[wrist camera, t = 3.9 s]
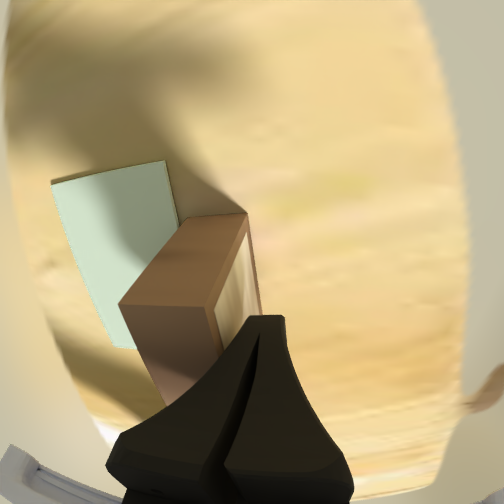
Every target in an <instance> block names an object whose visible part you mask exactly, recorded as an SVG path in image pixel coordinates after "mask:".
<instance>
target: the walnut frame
mask: <svg viewBox="0 0 504 504" xmlns="http://www.w3.org/2000/svg"><path fill="white" fill-rule="evenodd" d="M118 307H119V309H120V311H121V314H122V316H123V318H124V321H125V323H126V325H127V328H128V330H129V332H130V334H131V336H132V339H133V341H134V343H135V345H136V347H137V349H138V351H139V353H140V356H141V358H142V360H143V362H144V364H145V366H146V368H147V370H148V372H149V374H150V376H151V378H152V380H153V381H154V383H155V385H156V387H157V389H158V391H159V393H160V395H161V397H162V398H163V400H164V402H165V404H166V406H169V405H170V404H171V403H173V402H174V401H175V400H176V399H178V398H179V397H180V396H181V395H182V394H184V393H185V392H186V391H187V390H188V389H190V388H191V387H192V386H193V385H194V384H195V383H196V382H197V381H198V380H199V379H200V378H201V377H202V376H203V375H204V374H205V373H206V372H207V371H208V370H209V369H210V367H211V366H212V365H213V364H214V363H215V362H216V360H217V359H218V358H219V357H220V356H221V355H222V353H223V352H224V351H225V349H226V348H227V347H228V345H229V344H230V343H231V341H232V340H233V339H234V337H235V336H236V334H237V333H238V331H239V330H240V328H241V327H242V325H243V324H244V322H245V320H246V319H247V317H248V316H250V315H263V314H262V308H261V301H260V294H259V287H258V281H257V274H256V267H255V260H254V254H253V247H252V240H251V234H250V227H249V220H248V213H241V214H226V215H213V216H200V217H188V218H187V219H186V220H185V221H184V222H183V223H182V225H181V226H180V227H179V228H178V229H177V231H176V232H175V233H174V234H173V235H172V236H171V238H170V239H169V240H168V241H167V242H166V244H165V245H164V246H163V247H162V249H161V250H160V251H159V252H158V253H157V255H156V256H155V257H154V258H153V260H152V261H151V262H150V263H149V264H148V266H147V267H146V268H145V269H144V271H143V272H142V273H141V274H140V276H139V277H138V278H137V279H136V281H135V282H134V283H133V285H132V286H131V287H130V288H129V290H128V291H127V292H126V293H125V295H124V296H123V297H122V299H121V300H120V301H119V303H118Z"/></svg>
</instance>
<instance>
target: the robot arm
mask: <svg viewBox="0 0 504 504" xmlns="http://www.w3.org/2000/svg"><path fill="white" fill-rule="evenodd" d="M105 466H106V468H107V470H108V472H109V473H110V474H111V475H112V476H113V477H114V478H115V479H117V480H118V481H119V482H120V483H121V484H122V485H124V486H125V487H126V488H127V490H126V493H125V496H124V498H120V497H117V496H113V495H111V494H108V493H105V492H102V491H100V490H97V489H95V488H92V487H89V486H87V485H85V484H82V483H80V482H77V481H75V480H72V479H70V478H68V477H66V476H64V475H61V474H59V473H57V472H55V471H53V470H51V469H49V468H47V467H45V466H43V465H41V464H39V462H38V461H37V460H36V459H35V458H34V457H32V456H31V455H29V454H28V453H27V452H25V451H23V450H21V449H20V448H18V447H16V446H14V445H12V444H10V446H9V447H8V449H7V451H6V452H5V454H4V456H3V458H2V459H1V461H0V494H1V495H2V496H3V497H5V498H6V499H7V500H9V501H10V502H12V503H13V504H349V501H350V499H351V497H352V495H353V492H354V482H353V478H352V475H351V472H350V469H349V467H348V464H347V462H346V460H345V457H344V455H343V453H342V451H341V450H340V449H339V447H338V446H337V445H336V444H335V442H334V441H333V439H332V438H331V437H330V435H329V434H328V432H327V431H326V429H325V428H324V426H323V425H322V423H321V422H320V420H319V418H318V417H317V415H316V413H315V412H314V410H313V408H312V407H311V405H310V403H309V401H308V399H307V397H306V395H305V393H304V391H303V389H302V387H301V384H300V382H299V380H298V377H297V375H296V372H295V369H294V367H293V364H292V361H291V358H290V354H289V351H288V347H287V338H286V327H285V317H284V316H282V315H250V316H248V317H247V319H246V320H245V322H244V324H243V325H242V327H241V328H240V330H239V331H238V333H237V334H236V336H235V337H234V339H233V340H232V341H231V343H230V344H229V345H228V347H227V348H226V349H225V351H224V352H223V353H222V355H221V356H220V357H219V358H218V359H217V360H216V362H215V363H214V364H213V365H212V366H211V367H210V369H209V370H208V371H207V372H206V373H205V374H204V375H203V376H202V377H201V378H200V379H199V380H198V381H197V382H196V383H195V384H194V385H193V386H192V387H191V388H190V389H188V390H187V391H186V392H185V393H184V394H182V395H181V396H180V397H179V398H178V399H176V400H175V401H174V402H173V403H171V404H170V405H169V406H167V407H166V408H164V409H163V410H161V411H160V412H158V413H157V414H155V415H154V416H152V417H151V418H149V419H147V420H145V421H144V422H142V423H140V424H138V425H136V426H134V427H132V428H130V429H128V430H126V431H124V432H122V433H121V434H120V435H119V437H118V439H117V440H116V442H115V444H114V446H113V449H112V451H111V453H110V456H109V458H108V460H107V462H106V465H105ZM472 504H504V487H502V488H500V489H498V490H496V491H494V492H492V493H490V494H489V495H487V496H486V497H485V498H484V499H483V500H481V501H478V502H475V503H472Z"/></svg>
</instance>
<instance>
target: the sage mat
mask: <svg viewBox="0 0 504 504" xmlns="http://www.w3.org/2000/svg"><path fill="white" fill-rule="evenodd" d="M51 190H52V193H53V197H54V200H55V203H56V206H57V210H58V213H59V216H60V219H61V222H62V225H63V228H64V231H65V234H66V236H67V239H68V242H69V245H70V248H71V250H72V253H73V256H74V258H75V261H76V263H77V266H78V268H79V271H80V273H81V276H82V278H83V281H84V283H85V286H86V288H87V290H88V293H89V295H90V297H91V299H92V302H93V304H94V306H95V308H96V311H97V313H98V315H99V317H100V319H101V321H102V323H103V326H104V328H105V330H106V332H107V334H108V336H109V338H110V340H111V342H112V344H113V346H114V347H119V348H129V349H137V347H136V345H135V343H134V341H133V339H132V336H131V334H130V332H129V330H128V328H127V325H126V323H125V321H124V318H123V316H122V314H121V311H120V309H119V307H118V303H119V301H120V300H121V299H122V297H123V296H124V295H125V293H126V292H127V291H128V290H129V288H130V287H131V286H132V285H133V283H134V282H135V281H136V279H137V278H138V277H139V276H140V274H141V273H142V272H143V271H144V269H145V268H146V267H147V266H148V264H149V263H150V262H151V261H152V260H153V258H154V257H155V256H156V255H157V253H158V252H159V251H160V250H161V249H162V247H163V246H164V245H165V244H166V242H167V241H168V240H169V239H170V238H171V236H172V235H173V234H174V233H175V232H176V231H177V229H178V228H179V227H180V226H179V221H178V217H177V213H176V208H175V204H174V200H173V195H172V191H171V186H170V181H169V177H168V172H167V167H166V162H165V160H163V161H157V162H152V163H146V164H141V165H136V166H131V167H125V168H121V169H116V170H111V171H106V172H102V173H97V174H93V175H88V176H84V177H80V178H76V179H72V180H68V181H64V182H60V183H56V184H53V185H51Z"/></svg>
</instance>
